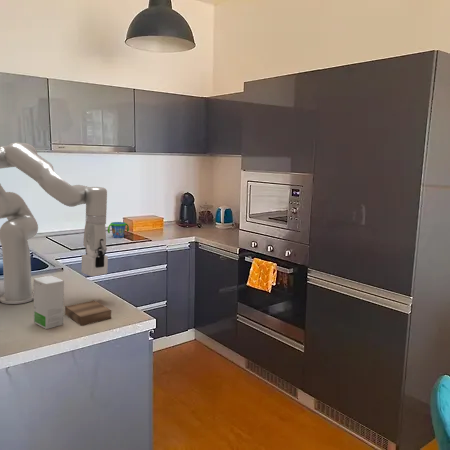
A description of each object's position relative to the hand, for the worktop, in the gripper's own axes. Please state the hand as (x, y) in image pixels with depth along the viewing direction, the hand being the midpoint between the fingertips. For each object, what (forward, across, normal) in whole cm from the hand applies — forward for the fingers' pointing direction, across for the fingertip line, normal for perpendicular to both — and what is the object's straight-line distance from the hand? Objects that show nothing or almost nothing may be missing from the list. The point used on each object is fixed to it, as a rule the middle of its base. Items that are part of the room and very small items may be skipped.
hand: (94, 264), depth 166 cm
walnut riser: (+15, +14, -9) cm, 22 cm away
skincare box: (+15, +13, -22) cm, 30 cm away
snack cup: (+16, -115, +74) cm, 138 cm away
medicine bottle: (+4, 0, 0) cm, 4 cm away
